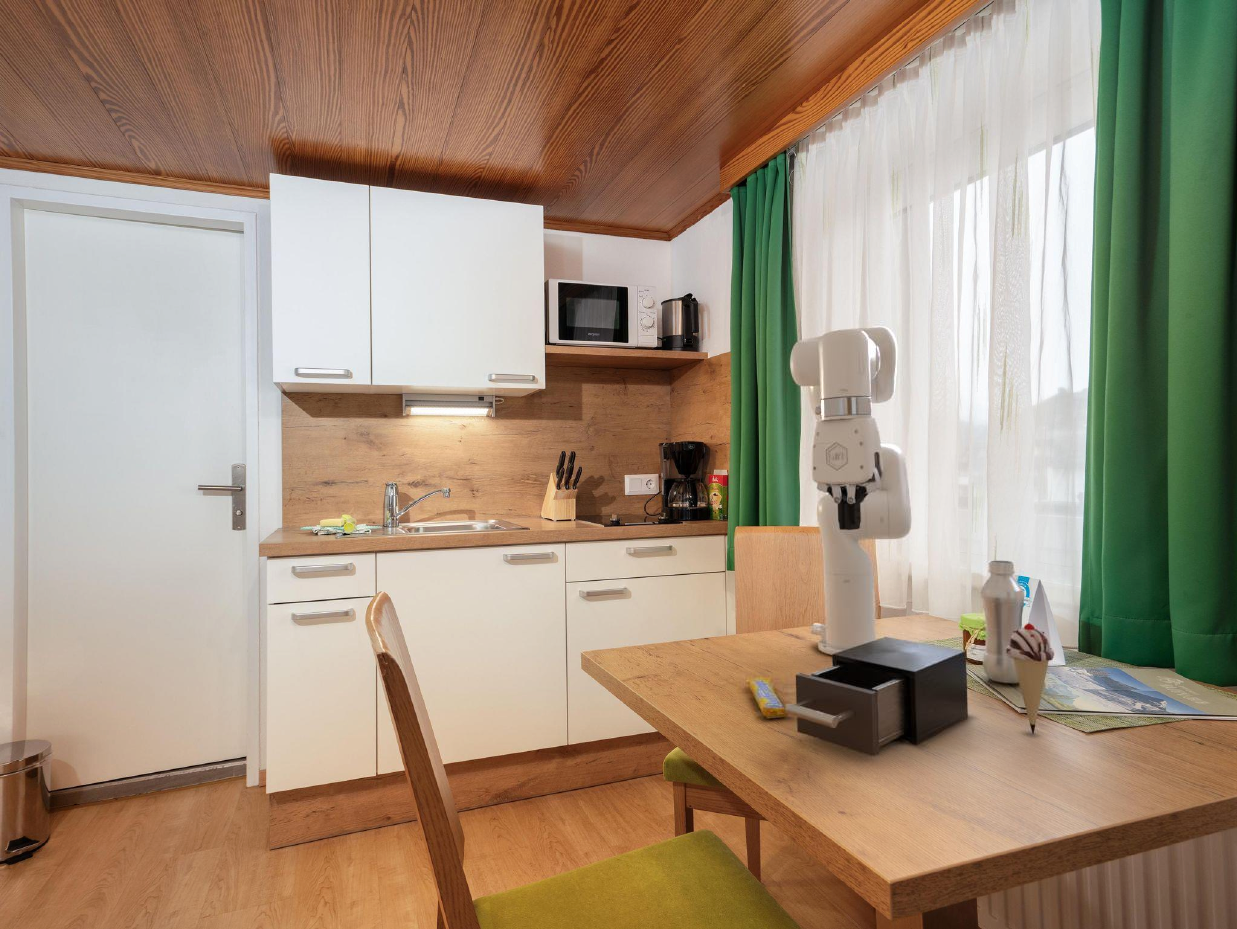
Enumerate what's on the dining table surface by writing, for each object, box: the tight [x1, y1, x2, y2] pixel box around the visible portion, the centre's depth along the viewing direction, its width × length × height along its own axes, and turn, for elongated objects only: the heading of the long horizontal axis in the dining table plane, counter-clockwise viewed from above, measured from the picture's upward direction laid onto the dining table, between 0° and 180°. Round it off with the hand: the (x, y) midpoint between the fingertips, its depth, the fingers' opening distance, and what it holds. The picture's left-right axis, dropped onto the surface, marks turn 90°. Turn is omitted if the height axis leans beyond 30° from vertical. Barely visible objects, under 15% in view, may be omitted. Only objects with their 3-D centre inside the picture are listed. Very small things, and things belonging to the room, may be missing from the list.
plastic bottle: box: [980, 560, 1025, 684], centre depth 117 cm, size 6×7×20 cm
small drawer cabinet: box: [831, 636, 969, 745], centre depth 102 cm, size 15×13×10 cm
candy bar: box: [745, 676, 789, 720], centre depth 111 cm, size 17×4×2 cm, turn 178°
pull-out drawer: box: [784, 662, 911, 758], centre depth 94 cm, size 19×11×8 cm, turn 129°
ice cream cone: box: [1006, 623, 1055, 735], centre depth 95 cm, size 6×6×15 cm
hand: (849, 528), depth 109 cm, fingers closed
